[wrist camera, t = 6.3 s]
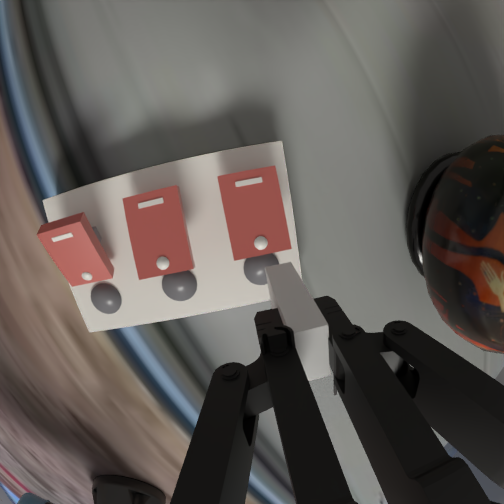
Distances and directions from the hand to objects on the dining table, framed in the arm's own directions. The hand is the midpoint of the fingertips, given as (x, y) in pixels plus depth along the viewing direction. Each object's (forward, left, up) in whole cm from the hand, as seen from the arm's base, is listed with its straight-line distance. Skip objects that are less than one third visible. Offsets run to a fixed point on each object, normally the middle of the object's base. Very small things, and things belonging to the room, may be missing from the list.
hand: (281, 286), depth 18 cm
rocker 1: (-15, +4, -9) cm, 18 cm away
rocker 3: (0, +2, -9) cm, 10 cm away
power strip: (-8, +1, -13) cm, 15 cm away
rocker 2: (-8, +2, -9) cm, 12 cm away
